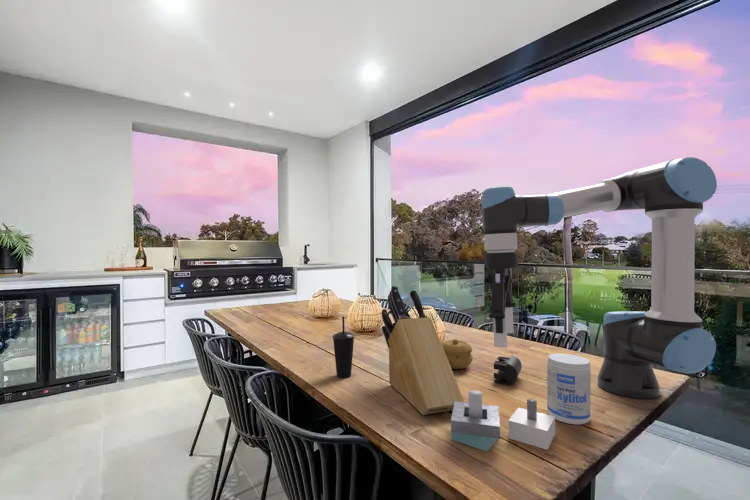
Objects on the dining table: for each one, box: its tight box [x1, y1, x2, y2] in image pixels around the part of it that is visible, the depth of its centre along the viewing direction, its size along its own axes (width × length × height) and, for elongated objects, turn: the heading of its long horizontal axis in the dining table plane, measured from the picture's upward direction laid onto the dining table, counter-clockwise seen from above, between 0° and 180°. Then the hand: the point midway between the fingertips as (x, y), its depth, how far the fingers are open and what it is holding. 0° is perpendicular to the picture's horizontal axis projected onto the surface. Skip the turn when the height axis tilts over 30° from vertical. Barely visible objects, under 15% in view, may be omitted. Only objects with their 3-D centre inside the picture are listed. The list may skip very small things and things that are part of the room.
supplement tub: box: [546, 352, 592, 426], centre depth 89 cm, size 10×10×15 cm
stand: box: [507, 398, 556, 451], centre depth 80 cm, size 8×8×8 cm
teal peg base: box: [451, 390, 498, 452], centre depth 79 cm, size 8×8×10 cm
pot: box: [441, 338, 474, 370], centre depth 127 cm, size 12×12×10 cm
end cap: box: [493, 355, 522, 386], centre depth 114 cm, size 10×7×7 cm
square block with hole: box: [450, 401, 501, 440], centre depth 80 cm, size 10×10×2 cm
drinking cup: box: [331, 316, 356, 379], centre depth 120 cm, size 8×8×20 cm
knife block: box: [381, 285, 465, 416], centre depth 105 cm, size 11×35×31 cm, turn 19°
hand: (504, 339), depth 86 cm, fingers open, 13 cm apart
